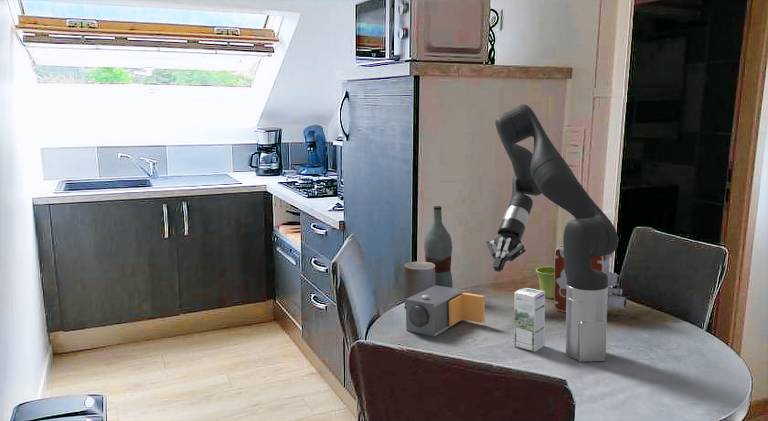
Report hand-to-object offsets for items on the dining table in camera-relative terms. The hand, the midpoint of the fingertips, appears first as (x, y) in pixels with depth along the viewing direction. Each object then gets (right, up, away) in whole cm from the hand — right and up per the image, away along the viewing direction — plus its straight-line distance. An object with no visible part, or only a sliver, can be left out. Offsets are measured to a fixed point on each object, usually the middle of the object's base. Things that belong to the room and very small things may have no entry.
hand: (496, 270), depth 170 cm
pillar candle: (-22, -13, +7) cm, 27 cm away
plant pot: (+21, -10, +15) cm, 27 cm away
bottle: (-16, -11, +18) cm, 26 cm away
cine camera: (+27, -13, -3) cm, 30 cm away
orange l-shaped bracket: (-11, -14, -12) cm, 21 cm away
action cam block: (-19, -15, -9) cm, 26 cm away
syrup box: (+3, -17, -27) cm, 32 cm away
